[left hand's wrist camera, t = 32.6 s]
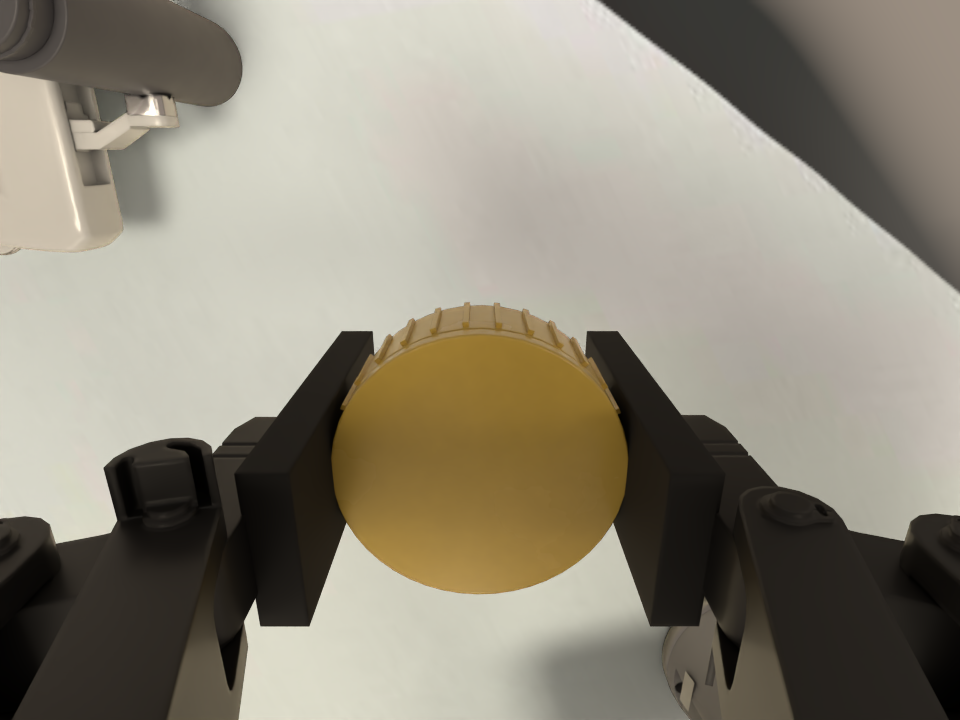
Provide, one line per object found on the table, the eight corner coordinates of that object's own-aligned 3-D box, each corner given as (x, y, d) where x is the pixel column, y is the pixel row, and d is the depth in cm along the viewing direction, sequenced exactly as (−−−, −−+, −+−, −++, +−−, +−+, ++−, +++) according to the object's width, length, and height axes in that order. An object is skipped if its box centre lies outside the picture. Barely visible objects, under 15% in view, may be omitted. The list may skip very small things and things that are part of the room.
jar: (187, -2, 33) (-93, -148, 17) (257, 57, 34) (56, -28, 18) (147, 68, 34) (-149, -6, 18) (216, 123, 35) (-6, 99, 19)
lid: (434, 570, 13) (427, 637, 11) (296, 380, 12) (263, 422, 10) (651, 471, 12) (681, 526, 10) (536, 248, 11) (547, 269, 9)
